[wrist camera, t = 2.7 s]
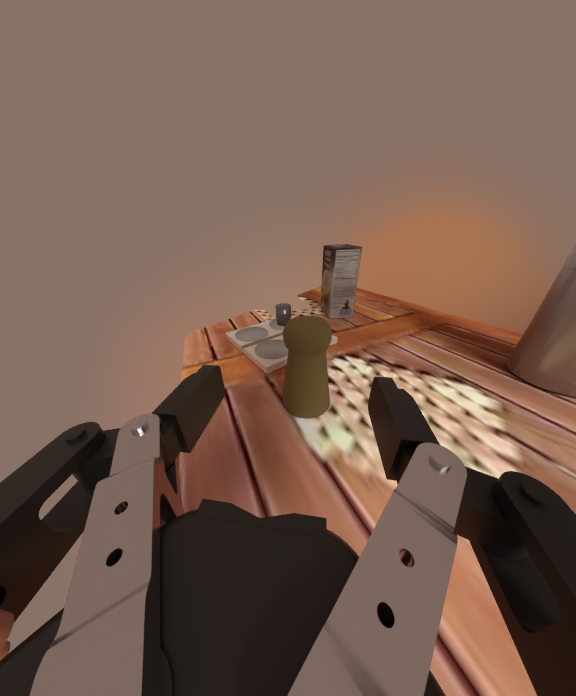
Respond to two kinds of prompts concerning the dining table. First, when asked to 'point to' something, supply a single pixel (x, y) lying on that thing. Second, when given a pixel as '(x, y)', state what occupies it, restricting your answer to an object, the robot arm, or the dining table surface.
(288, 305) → the pin
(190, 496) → the dining table surface
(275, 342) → the board
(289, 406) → the pepper mill
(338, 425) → the dining table surface
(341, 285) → the coffee box
